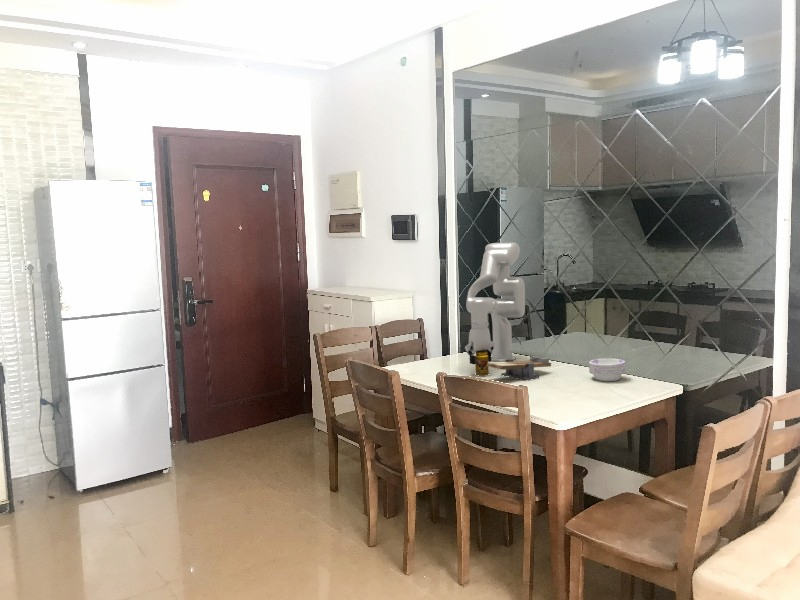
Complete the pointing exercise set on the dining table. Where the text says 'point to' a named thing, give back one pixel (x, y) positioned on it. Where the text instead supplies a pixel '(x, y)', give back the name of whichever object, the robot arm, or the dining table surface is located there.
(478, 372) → the condiment
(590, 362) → the lavender white bowl
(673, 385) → the dining table surface
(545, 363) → the beam
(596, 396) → the dining table surface
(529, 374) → the stand
